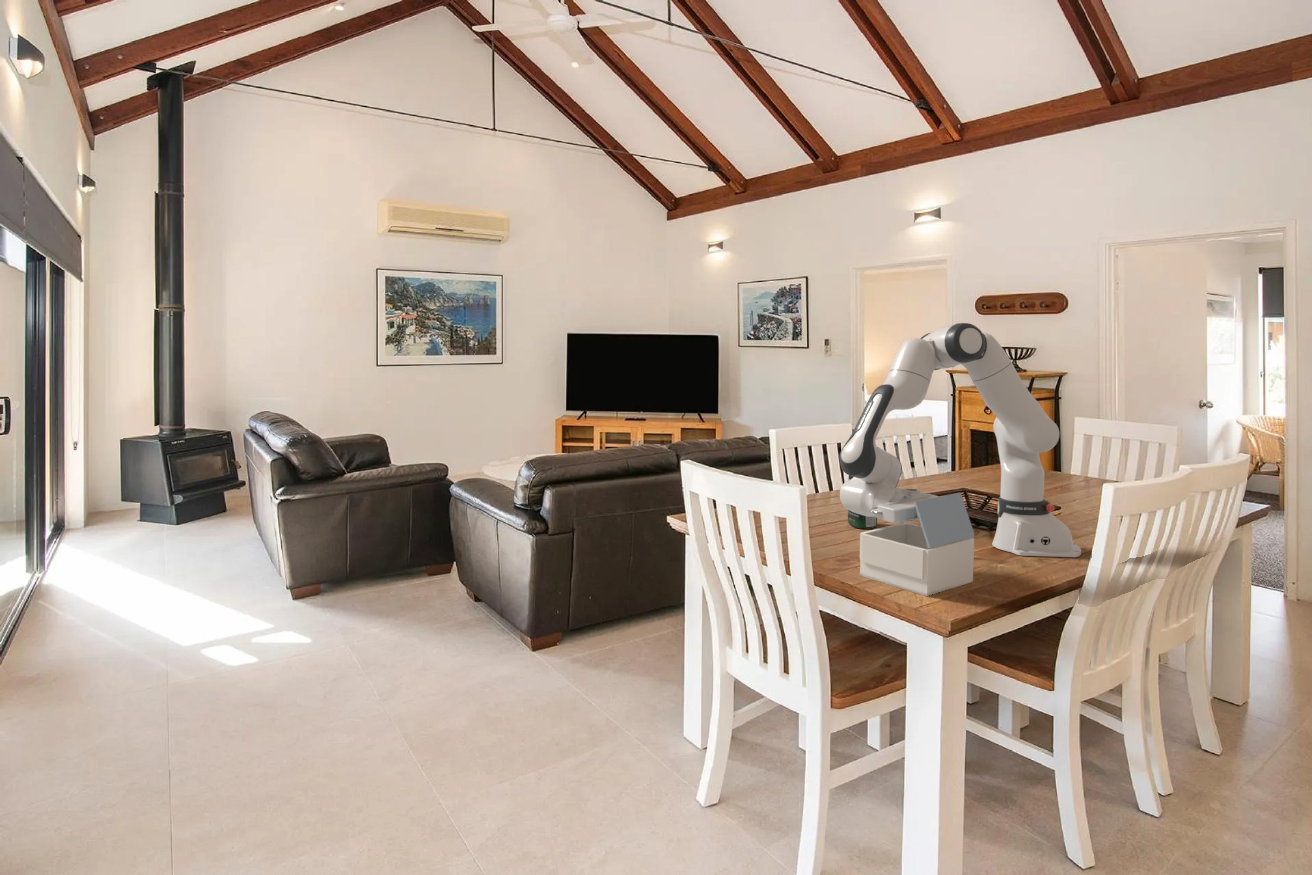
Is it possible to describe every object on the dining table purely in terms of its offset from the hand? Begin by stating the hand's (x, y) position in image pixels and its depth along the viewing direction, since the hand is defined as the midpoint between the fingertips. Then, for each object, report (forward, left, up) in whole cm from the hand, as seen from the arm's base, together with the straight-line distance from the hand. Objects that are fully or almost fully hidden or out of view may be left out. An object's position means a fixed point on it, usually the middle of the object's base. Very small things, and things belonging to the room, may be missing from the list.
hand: (940, 515), depth 185 cm
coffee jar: (+25, -55, -18) cm, 63 cm away
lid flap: (-1, 0, -1) cm, 1 cm away
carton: (+6, -4, -17) cm, 19 cm away
